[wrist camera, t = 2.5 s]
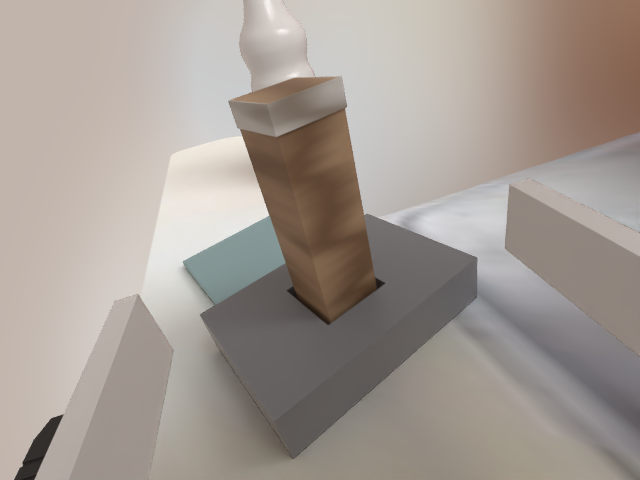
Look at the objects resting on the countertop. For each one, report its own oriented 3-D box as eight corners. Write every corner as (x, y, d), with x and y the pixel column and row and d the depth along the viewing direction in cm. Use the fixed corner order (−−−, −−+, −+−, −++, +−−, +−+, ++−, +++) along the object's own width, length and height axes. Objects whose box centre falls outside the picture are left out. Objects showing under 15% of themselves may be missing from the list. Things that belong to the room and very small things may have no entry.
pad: (296, 209, 49) (294, 202, 48) (354, 237, 40) (352, 229, 40) (186, 268, 42) (182, 261, 42) (225, 317, 34) (221, 310, 33)
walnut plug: (346, 291, 32) (294, 77, 23) (384, 317, 29) (341, 76, 19) (303, 321, 30) (228, 100, 21) (338, 352, 27) (266, 104, 17)
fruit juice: (289, 164, 64) (236, -26, 49) (340, 159, 61) (299, -47, 46) (270, 189, 57) (200, -26, 42) (326, 184, 54) (272, -51, 39)
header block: (372, 246, 38) (367, 213, 36) (476, 297, 29) (477, 257, 27) (218, 348, 30) (199, 314, 28) (293, 458, 22) (274, 421, 19)
